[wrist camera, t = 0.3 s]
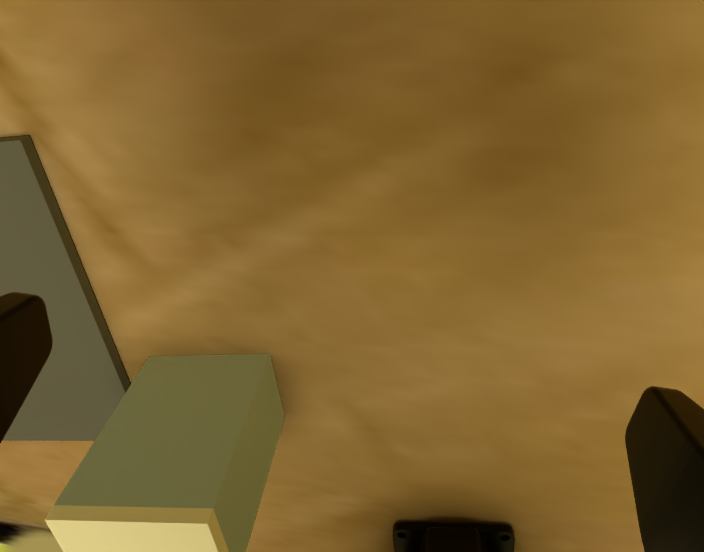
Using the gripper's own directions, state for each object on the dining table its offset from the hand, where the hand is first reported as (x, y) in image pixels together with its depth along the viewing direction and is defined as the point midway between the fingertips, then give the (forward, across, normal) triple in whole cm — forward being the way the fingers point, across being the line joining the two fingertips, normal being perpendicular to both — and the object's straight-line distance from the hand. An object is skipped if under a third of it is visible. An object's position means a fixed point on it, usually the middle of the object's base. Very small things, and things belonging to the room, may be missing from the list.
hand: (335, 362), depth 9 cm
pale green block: (+14, +7, +14) cm, 21 cm away
